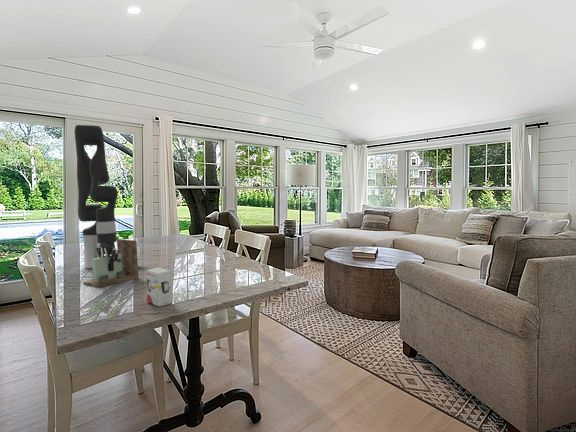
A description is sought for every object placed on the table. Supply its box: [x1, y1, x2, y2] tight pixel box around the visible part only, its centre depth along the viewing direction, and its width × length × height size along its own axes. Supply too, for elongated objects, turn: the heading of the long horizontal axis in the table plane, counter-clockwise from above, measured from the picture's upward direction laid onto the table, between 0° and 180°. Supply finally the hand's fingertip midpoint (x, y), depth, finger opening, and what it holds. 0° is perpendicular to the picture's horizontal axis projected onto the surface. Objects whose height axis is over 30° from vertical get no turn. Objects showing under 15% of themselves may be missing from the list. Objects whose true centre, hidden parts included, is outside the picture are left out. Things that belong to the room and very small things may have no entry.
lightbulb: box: [137, 245, 141, 259], centre depth 178 cm, size 6×6×11 cm
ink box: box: [146, 267, 172, 307], centre depth 120 cm, size 9×5×12 cm, turn 50°
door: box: [91, 254, 122, 283], centre depth 149 cm, size 3×12×10 cm, turn 150°
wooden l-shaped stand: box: [83, 238, 139, 289], centre depth 150 cm, size 12×18×17 cm, turn 150°
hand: (109, 270), depth 149 cm, fingers closed on door, 2 cm apart
